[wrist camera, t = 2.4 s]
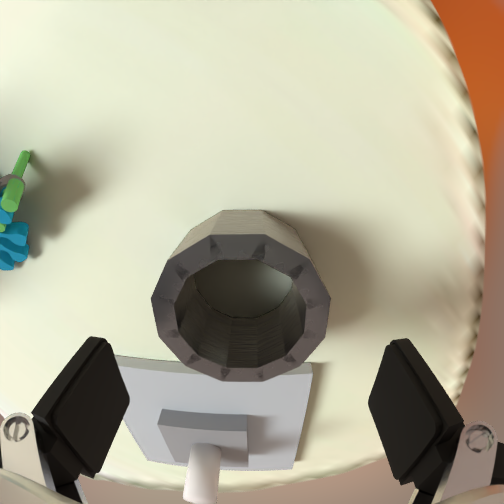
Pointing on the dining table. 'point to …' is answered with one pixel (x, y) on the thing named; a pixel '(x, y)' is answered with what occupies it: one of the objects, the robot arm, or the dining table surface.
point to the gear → (3, 207)
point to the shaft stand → (213, 420)
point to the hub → (241, 329)
